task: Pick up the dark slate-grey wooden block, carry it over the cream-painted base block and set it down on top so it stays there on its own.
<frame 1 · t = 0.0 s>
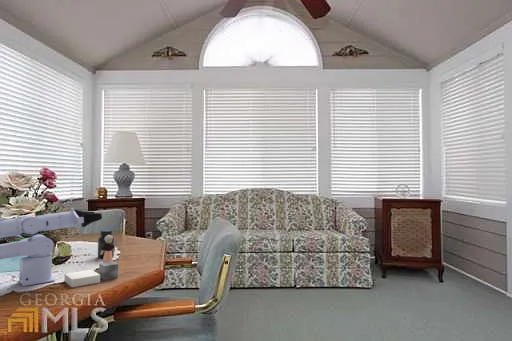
hand: (97, 215, 137), 22 cm above the table, tool horizontal, fingers open, 7 cm apart
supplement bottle: (105, 257, 162), on the table
slate block: (108, 277, 129), on the table
grandmother figurine: (108, 266, 146), on the table
cream base block: (82, 282, 123), on the table
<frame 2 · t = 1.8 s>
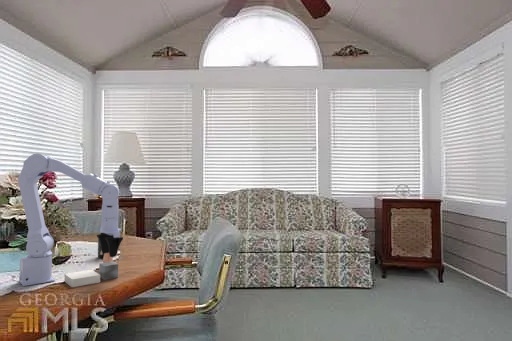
hand: (109, 254, 130), 8 cm above the table, tool pointing down, fingers open, 7 cm apart
nothing on the table moved.
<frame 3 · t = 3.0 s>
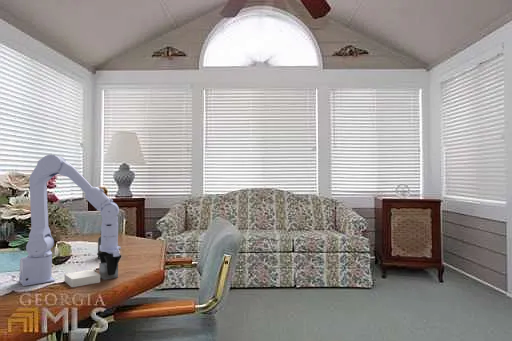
hand: (108, 273, 129), 1 cm above the table, tool pointing down, fingers closed on slate block, 5 cm apart
slate block: (108, 277, 129), on the table, touching gripper
everything else where it was.
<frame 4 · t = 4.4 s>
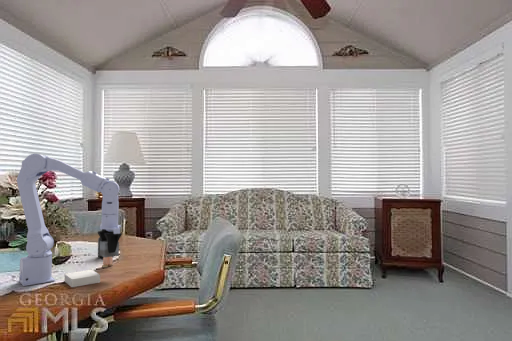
hand: (109, 251, 130), 9 cm above the table, tool pointing down, fingers closed on slate block, 5 cm apart
slate block: (109, 255, 130), point 8 cm above the table, touching gripper
everything else where it was.
when the fingers open (6 cm above the table, at t = 6.1 s): slate block drops 2 cm, resting on cream base block.
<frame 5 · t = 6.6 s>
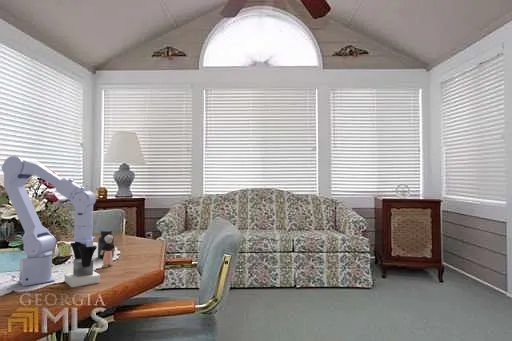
hand: (82, 264, 123), 6 cm above the table, tool pointing down, fingers open, 7 cm apart
slate block: (83, 274, 124), point 3 cm above the table, touching cream base block
cream base block: (82, 283, 123), on the table, touching slate block
everything else where it was.
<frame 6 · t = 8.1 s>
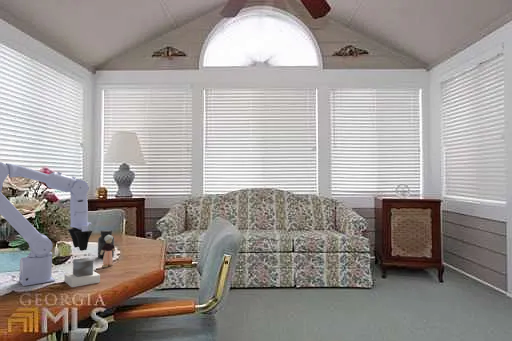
hand: (80, 248, 131), 10 cm above the table, tool pointing down, fingers open, 7 cm apart
nothing on the table moved.
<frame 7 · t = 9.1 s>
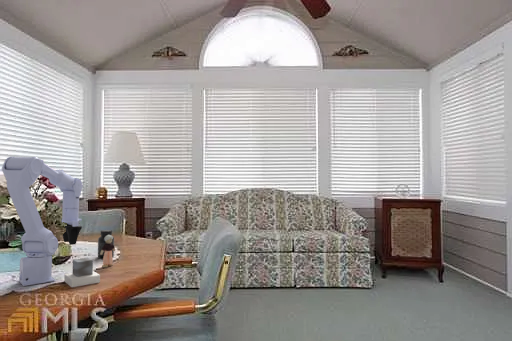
hand: (69, 243, 139), 10 cm above the table, tool pointing down, fingers open, 7 cm apart
slate block: (82, 274, 124), point 3 cm above the table
cream base block: (82, 283, 123), on the table
everything else where it was.
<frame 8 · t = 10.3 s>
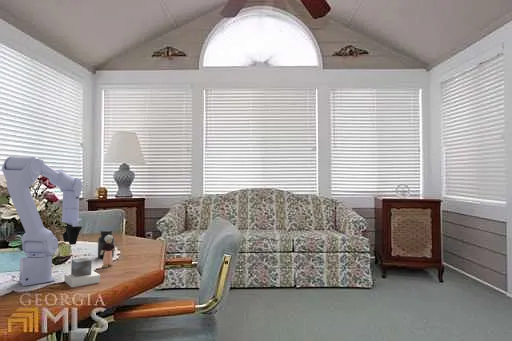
hand: (69, 243, 139), 10 cm above the table, tool pointing down, fingers open, 7 cm apart
slate block: (81, 274, 124), point 3 cm above the table, touching cream base block
cream base block: (82, 283, 123), on the table, touching slate block
everything else where it was.
at the end: slate block 0.5 cm off-centre on the cream base block, point 3.0 cm above the cream base block's base; slate block tilted 0°; the gripper is holding nothing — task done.
